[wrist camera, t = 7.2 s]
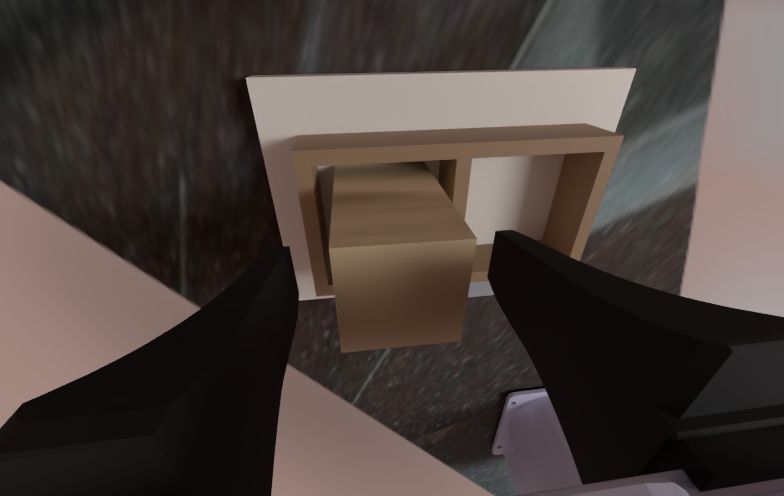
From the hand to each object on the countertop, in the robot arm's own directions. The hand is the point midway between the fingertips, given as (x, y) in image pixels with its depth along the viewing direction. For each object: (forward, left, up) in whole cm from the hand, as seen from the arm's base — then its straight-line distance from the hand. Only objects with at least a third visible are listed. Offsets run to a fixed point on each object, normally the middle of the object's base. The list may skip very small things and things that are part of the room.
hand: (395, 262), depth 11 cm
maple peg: (0, 0, -5) cm, 5 cm away
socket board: (0, -3, -6) cm, 7 cm away
